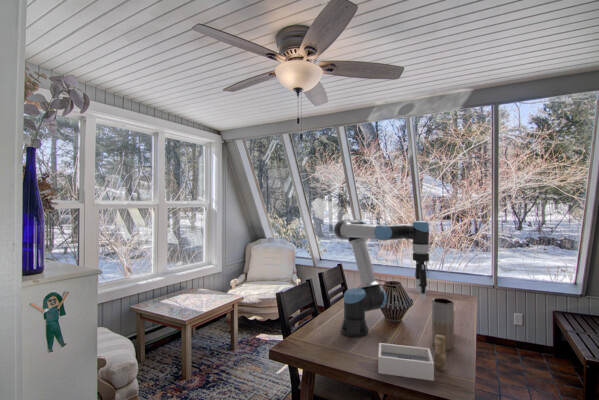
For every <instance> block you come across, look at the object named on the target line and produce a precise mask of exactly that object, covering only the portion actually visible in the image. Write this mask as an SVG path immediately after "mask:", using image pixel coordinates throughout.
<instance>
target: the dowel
mask: <svg viewBox="0 0 599 400" xmlns="http://www.w3.org/2000/svg"><path fill="white" fill-rule="evenodd" d="M434 347H435V348H434V349H435V352H434V356H435V357H434V362H435V363H434V370H436V371H439V372H444V371H446V350H445V336H443V335H435V346H434Z"/></svg>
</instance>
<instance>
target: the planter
mask: <svg viewBox="0 0 599 400" xmlns="http://www.w3.org/2000/svg"><path fill="white" fill-rule="evenodd" d="M431 301H432V302H431V311H432V313H431V315H432V317H431V321H432V323H431V329H432V330H431V337H432V339H431V340H432V341H431V342H432V345H433V347H435V335H443V336H445V351H448V350H453V349H454V347H455V342H454V341H455V329H454V328H455V313H454V308H455V305H454V304H455V302H454V301H453V300H451V299H448V298H442V297H436V298H433V299H432V300H431Z"/></svg>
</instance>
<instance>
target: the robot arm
mask: <svg viewBox="0 0 599 400" xmlns="http://www.w3.org/2000/svg"><path fill="white" fill-rule="evenodd" d="M333 232H334V235H335V236H336V237H337V238H338V239H341V240H348V243H349V244H350V245H351V247H352V250H353V254H354V259H355V262H356V263H355V264H356V266H357V271H358V275H359V279H360V283H361V285H360V286H359V287H354V288H353V287H352V288H349V289H347V290H345V292H344V294H343V319H342V323H341V325H340V333H341V334H343V335H344V336H346V337H349V338H364V337H366V336H369V327H368V323H367V321H366V312H370V311H375V310H379V309H382V308H384V307H385V305H386V303H387V300H388V298H387V297H388V296H387V293H386V290H384V288H382V287H381V286H380V283H379V282H377V280H376V278H375V273H374V270H373V265H372V261H371V256H370V253H369V249H368V246H367V241H368V239H371V240H378V241H389V240H403V239H405V240H412V252H413V253H412V261H415V275H414V276H415V277H414V278H415V292H416V293H419V300H420V301H427V286H428V283H427V268H426V267H427V264H425V262H429V260H430V248H431V246H430V245H429V244H430V223H429V222H428V221H426V220H425V221H424V220H415V221H412V224H406V223H396V224H371V223H370V224H368V223H367V222H366V220H365V221H364V219H343V220H340V221H338V222H336V224H335V225H334V228H333Z"/></svg>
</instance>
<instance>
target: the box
mask: <svg viewBox="0 0 599 400" xmlns="http://www.w3.org/2000/svg"><path fill="white" fill-rule="evenodd" d="M377 356H378V357H377V359H378V361H377V362H378V363H377V364H378V370H377V371H378V373H377V374H382V375H389V376H397V377H402V378H403V377H404V378H411V379H412V378H413V379H418V380H426V381H432V382H433V381H435V363H434V362H435V361H434V359H433V355H432V352H431V349H430V348H428V347H420V346H419V347H418V346H411V345H410V346H409V345H401V344H393V343H386V342H385V343H382V342H379V343H378V355H377Z"/></svg>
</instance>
